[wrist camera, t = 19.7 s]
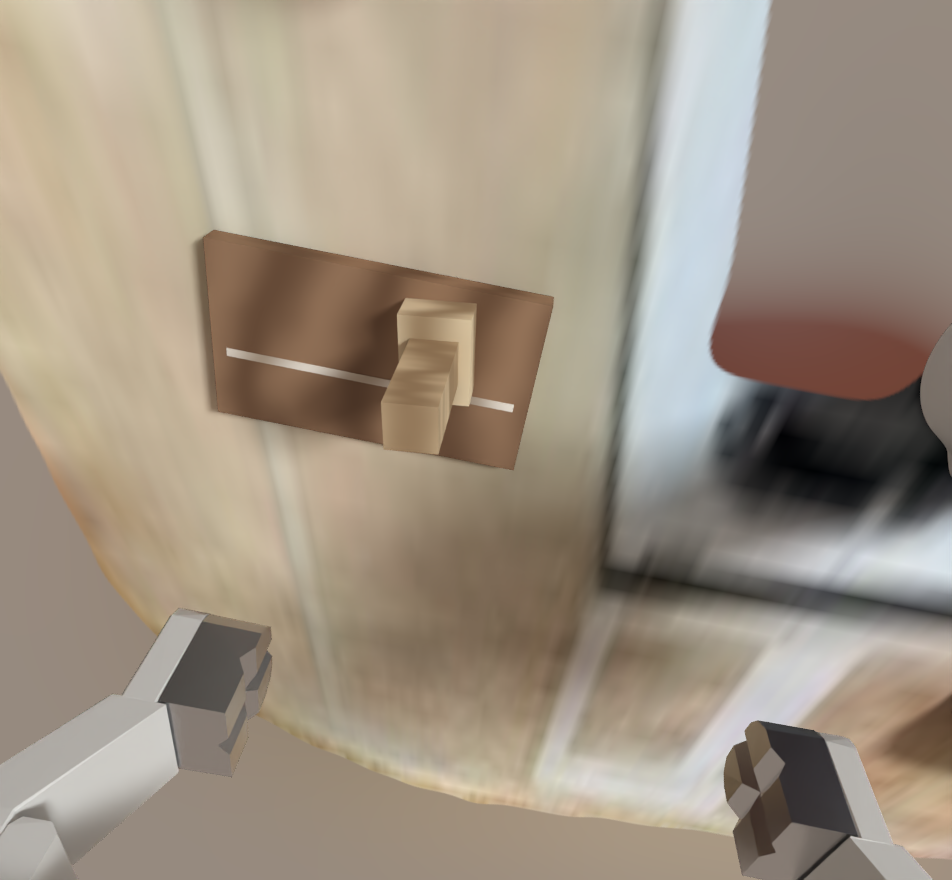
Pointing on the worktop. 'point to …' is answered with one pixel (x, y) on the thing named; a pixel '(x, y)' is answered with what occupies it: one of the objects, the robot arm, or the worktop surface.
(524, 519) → the worktop surface
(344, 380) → the walnut board
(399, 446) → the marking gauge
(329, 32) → the worktop surface
